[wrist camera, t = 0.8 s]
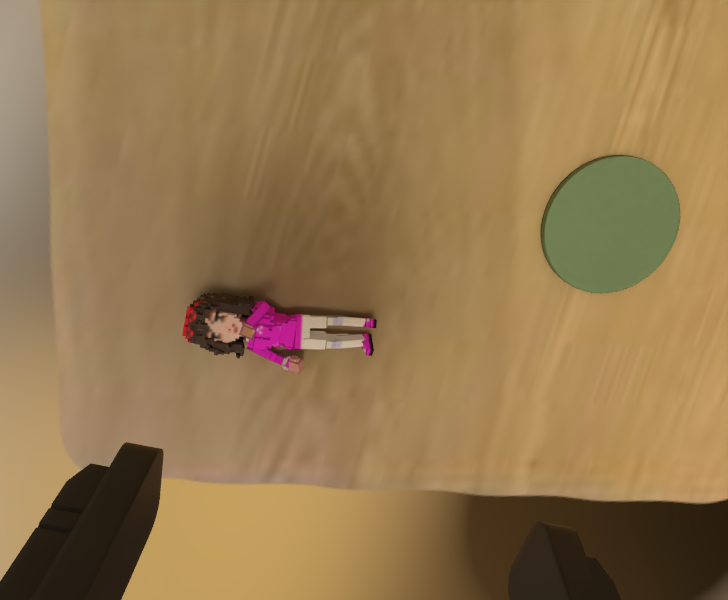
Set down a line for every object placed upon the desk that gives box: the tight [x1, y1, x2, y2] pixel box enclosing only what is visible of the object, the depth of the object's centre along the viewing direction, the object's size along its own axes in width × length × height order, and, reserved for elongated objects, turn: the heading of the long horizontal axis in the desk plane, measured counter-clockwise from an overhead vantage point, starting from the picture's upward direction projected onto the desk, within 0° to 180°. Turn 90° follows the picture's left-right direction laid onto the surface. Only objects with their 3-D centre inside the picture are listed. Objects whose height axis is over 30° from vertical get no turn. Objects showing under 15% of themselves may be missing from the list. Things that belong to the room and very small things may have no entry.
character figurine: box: [182, 293, 377, 374], centre depth 36 cm, size 6×5×12 cm
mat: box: [541, 155, 680, 293], centre depth 37 cm, size 9×9×1 cm
